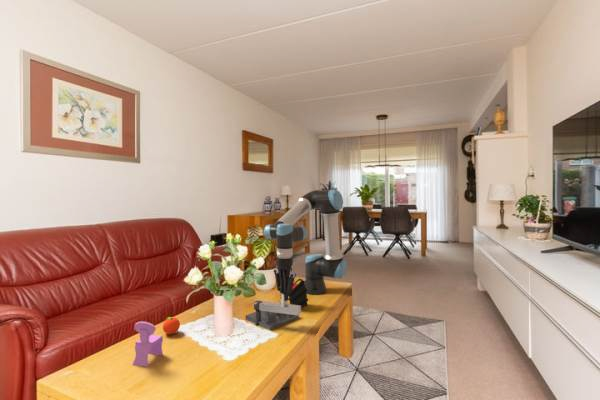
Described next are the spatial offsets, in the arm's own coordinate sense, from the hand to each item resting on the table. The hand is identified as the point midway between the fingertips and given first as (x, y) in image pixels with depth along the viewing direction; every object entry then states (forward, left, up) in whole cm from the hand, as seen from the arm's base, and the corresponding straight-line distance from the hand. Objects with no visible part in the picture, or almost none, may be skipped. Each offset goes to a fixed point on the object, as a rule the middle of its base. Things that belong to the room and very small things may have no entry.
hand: (284, 306), depth 141 cm
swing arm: (+4, -1, -1) cm, 5 cm away
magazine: (-20, -10, -9) cm, 24 cm away
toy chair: (+55, -15, -9) cm, 58 cm away
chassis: (-1, -9, -8) cm, 13 cm away
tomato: (+40, -30, -9) cm, 51 cm away
